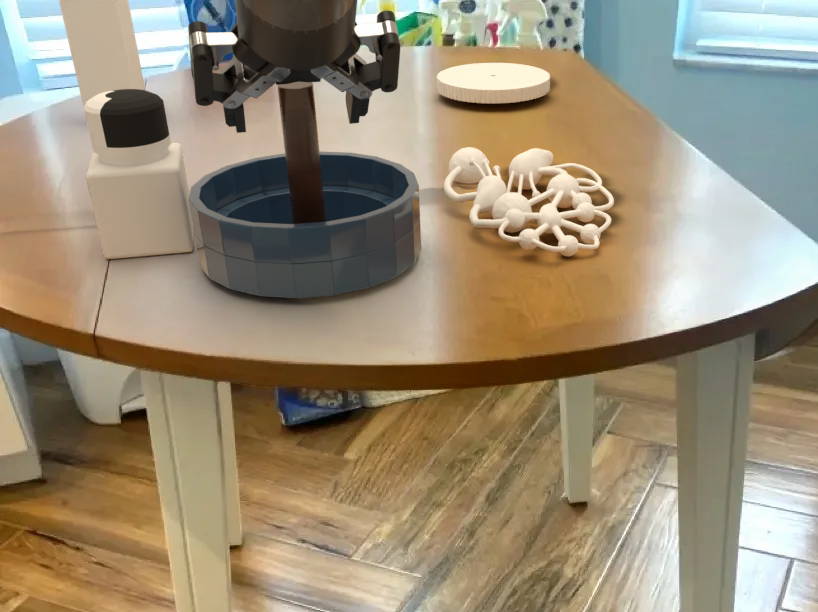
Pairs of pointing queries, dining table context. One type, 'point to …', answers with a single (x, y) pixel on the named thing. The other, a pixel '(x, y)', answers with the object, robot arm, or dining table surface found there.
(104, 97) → the medicine bottle
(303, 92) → the stick
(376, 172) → the bowl
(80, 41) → the milk
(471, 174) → the tangled rod sculpture
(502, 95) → the plastic lid
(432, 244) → the dining table surface
